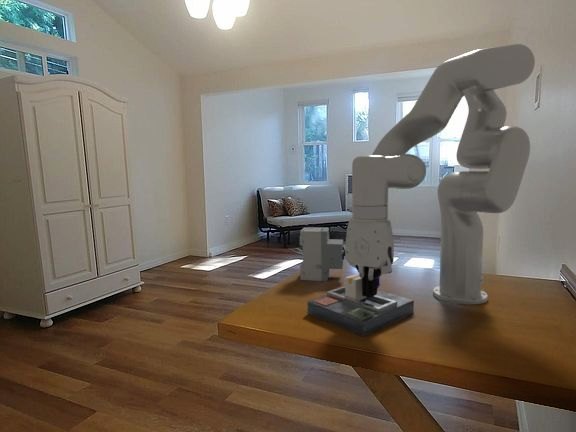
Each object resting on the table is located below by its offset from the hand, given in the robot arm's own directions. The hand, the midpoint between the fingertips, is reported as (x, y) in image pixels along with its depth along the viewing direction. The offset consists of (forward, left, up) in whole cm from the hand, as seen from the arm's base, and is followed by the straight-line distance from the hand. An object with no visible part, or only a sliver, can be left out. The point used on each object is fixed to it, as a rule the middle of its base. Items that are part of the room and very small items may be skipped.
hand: (369, 295), depth 81 cm
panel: (0, -3, -5) cm, 6 cm away
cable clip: (-23, -18, -5) cm, 30 cm away
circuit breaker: (-15, -29, -5) cm, 33 cm away
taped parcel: (0, -4, -2) cm, 4 cm away
